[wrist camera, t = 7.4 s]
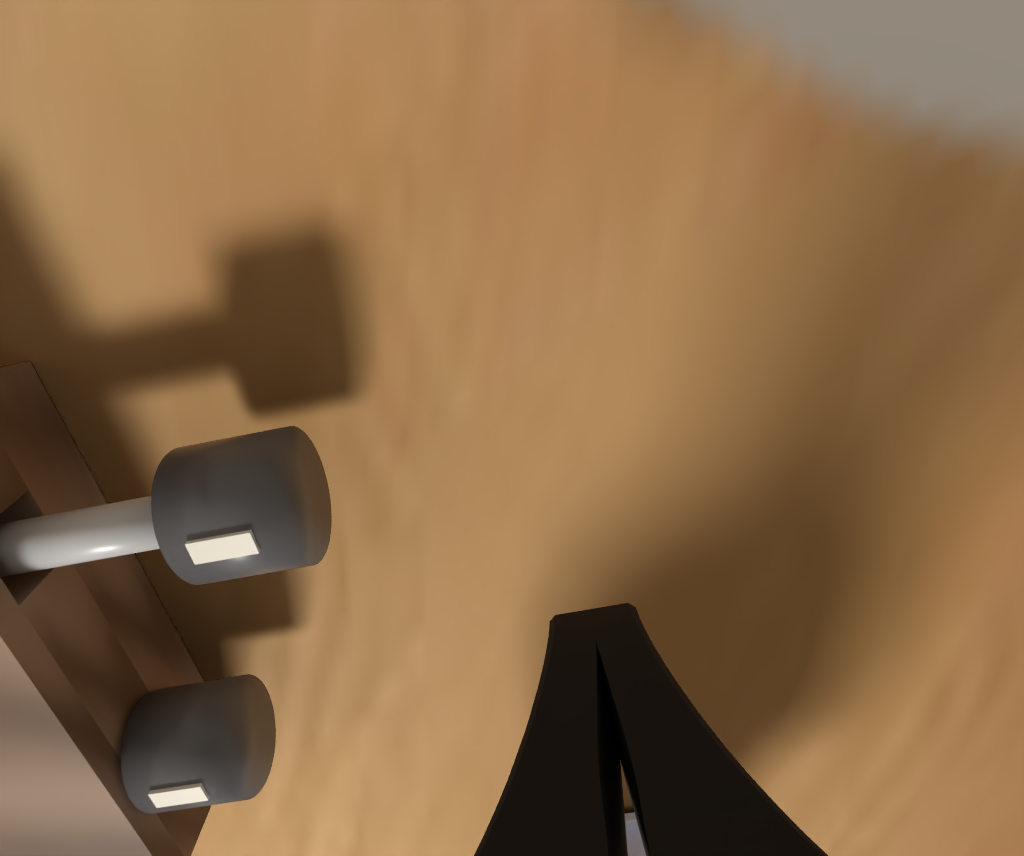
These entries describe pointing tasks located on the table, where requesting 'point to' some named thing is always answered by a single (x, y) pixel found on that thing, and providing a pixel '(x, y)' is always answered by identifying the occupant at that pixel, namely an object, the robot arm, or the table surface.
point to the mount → (74, 661)
